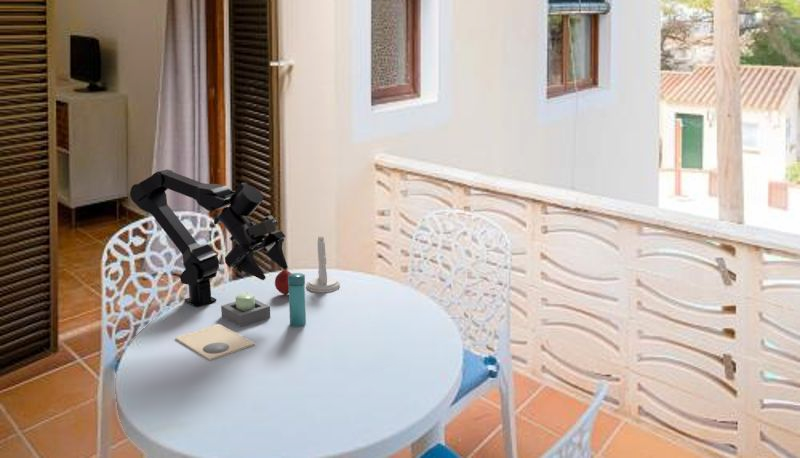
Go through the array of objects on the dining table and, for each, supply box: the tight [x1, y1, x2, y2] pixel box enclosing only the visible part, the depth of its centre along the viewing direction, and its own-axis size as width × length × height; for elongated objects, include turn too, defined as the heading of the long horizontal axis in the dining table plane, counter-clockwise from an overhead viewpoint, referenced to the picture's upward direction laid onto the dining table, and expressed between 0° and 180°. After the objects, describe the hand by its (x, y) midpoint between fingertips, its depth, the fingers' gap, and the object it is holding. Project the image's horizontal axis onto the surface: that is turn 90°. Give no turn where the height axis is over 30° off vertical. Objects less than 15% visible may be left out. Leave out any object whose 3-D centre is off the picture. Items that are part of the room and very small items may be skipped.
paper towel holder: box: [305, 235, 341, 293], centre depth 205 cm, size 10×10×15 cm
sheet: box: [174, 323, 256, 361], centre depth 169 cm, size 16×12×1 cm
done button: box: [235, 293, 256, 312], centre depth 183 cm, size 5×5×4 cm
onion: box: [274, 268, 293, 296], centre depth 199 cm, size 6×6×8 cm
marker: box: [288, 272, 307, 328], centre depth 179 cm, size 4×4×13 cm
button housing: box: [220, 299, 271, 327], centre depth 184 cm, size 9×9×3 cm
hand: (275, 273), depth 180 cm, fingers open, 9 cm apart
